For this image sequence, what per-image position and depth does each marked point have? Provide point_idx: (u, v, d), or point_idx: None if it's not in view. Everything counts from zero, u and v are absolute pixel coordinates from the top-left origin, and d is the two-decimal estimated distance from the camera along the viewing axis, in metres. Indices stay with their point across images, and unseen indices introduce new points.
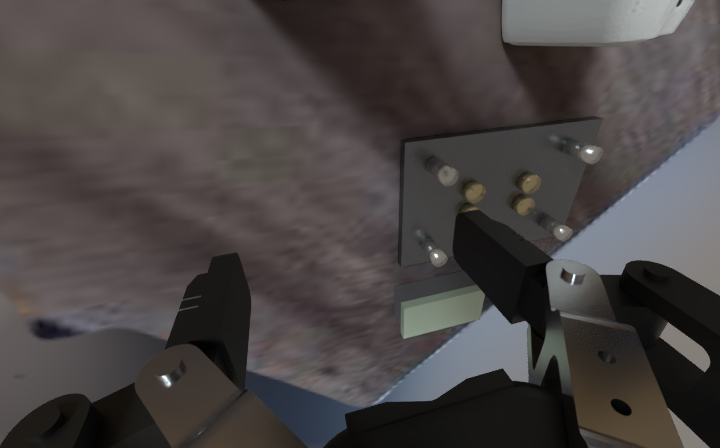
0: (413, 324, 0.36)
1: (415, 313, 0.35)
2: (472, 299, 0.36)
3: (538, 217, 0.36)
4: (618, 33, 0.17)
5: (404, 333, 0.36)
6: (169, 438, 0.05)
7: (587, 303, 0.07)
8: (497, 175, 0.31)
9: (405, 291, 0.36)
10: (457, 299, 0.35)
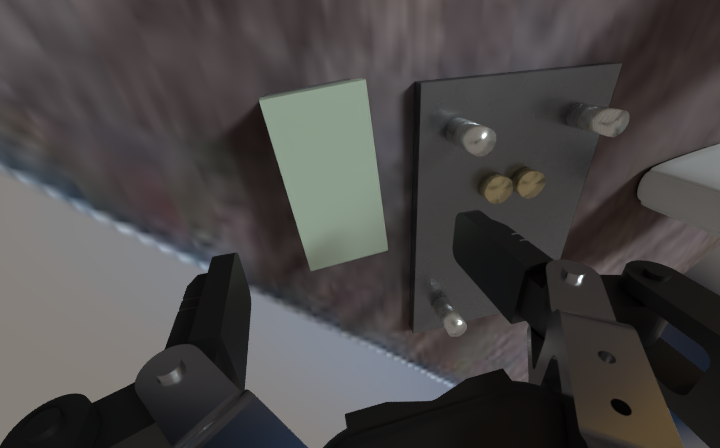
0: (310, 117, 0.15)
1: (345, 113, 0.15)
2: (367, 234, 0.19)
3: (450, 290, 0.27)
4: None
5: (278, 99, 0.14)
6: (169, 438, 0.05)
7: (588, 303, 0.07)
8: (529, 211, 0.25)
9: None
10: (372, 203, 0.18)
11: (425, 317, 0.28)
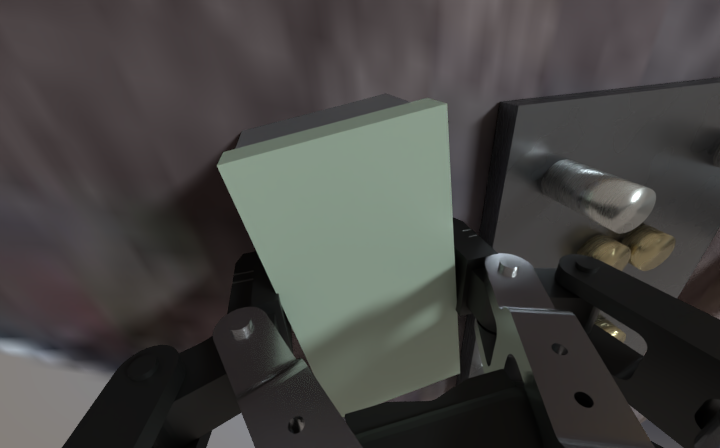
0: (330, 189, 0.07)
1: (402, 173, 0.07)
2: (429, 358, 0.11)
3: None
4: None
5: (261, 158, 0.06)
6: (233, 384, 0.06)
7: (527, 293, 0.07)
8: None
9: None
10: (441, 314, 0.10)
11: None
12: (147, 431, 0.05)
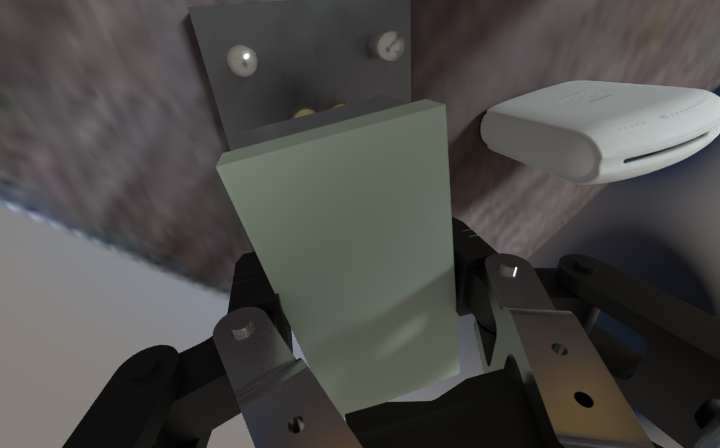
0: (329, 190, 0.07)
1: (402, 174, 0.07)
2: (428, 358, 0.11)
3: None
4: (596, 131, 0.18)
5: (260, 159, 0.06)
6: (233, 384, 0.06)
7: (527, 294, 0.07)
8: None
9: None
10: (441, 315, 0.10)
11: None
12: (147, 431, 0.05)
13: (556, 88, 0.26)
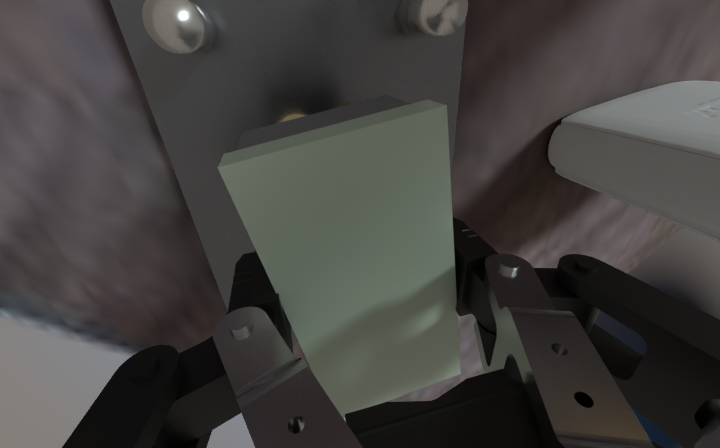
0: (331, 190, 0.07)
1: (403, 175, 0.07)
2: (429, 358, 0.11)
3: None
4: None
5: (261, 160, 0.06)
6: (233, 384, 0.06)
7: (527, 294, 0.07)
8: None
9: None
10: (441, 315, 0.10)
11: None
12: (147, 431, 0.05)
13: (668, 91, 0.18)
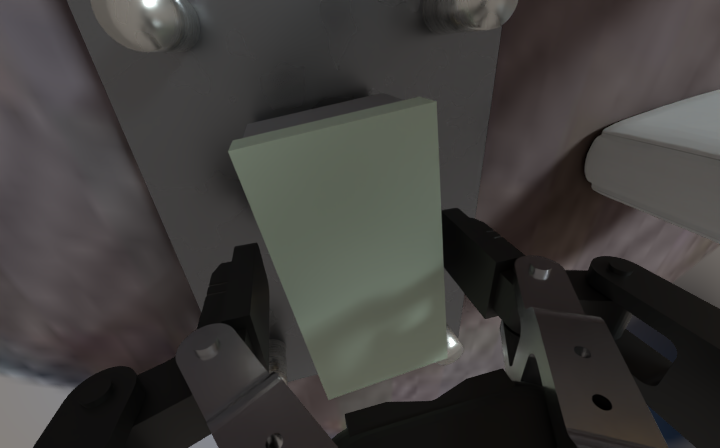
0: (330, 176, 0.08)
1: (396, 164, 0.08)
2: (418, 342, 0.12)
3: (281, 330, 0.16)
4: None
5: (268, 146, 0.07)
6: (202, 408, 0.05)
7: (556, 297, 0.07)
8: None
9: None
10: (430, 299, 0.11)
11: None
12: None
13: None
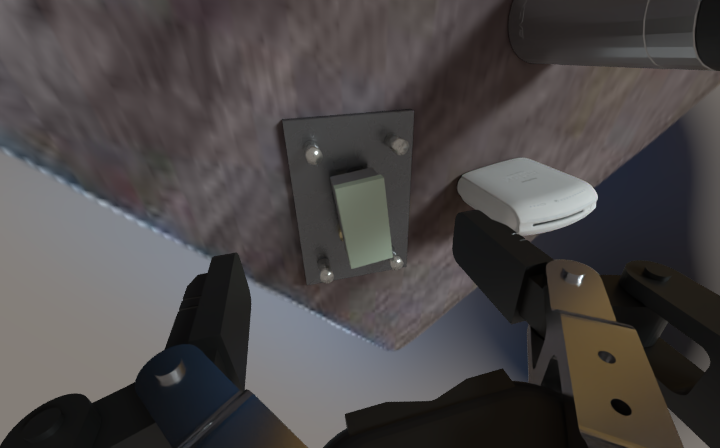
0: (357, 195, 0.31)
1: (374, 192, 0.31)
2: (382, 249, 0.35)
3: (329, 254, 0.40)
4: (518, 206, 0.31)
5: (343, 188, 0.30)
6: (169, 438, 0.05)
7: (587, 303, 0.07)
8: None
9: None
10: (385, 233, 0.34)
11: (313, 273, 0.40)
12: None
13: (508, 164, 0.39)
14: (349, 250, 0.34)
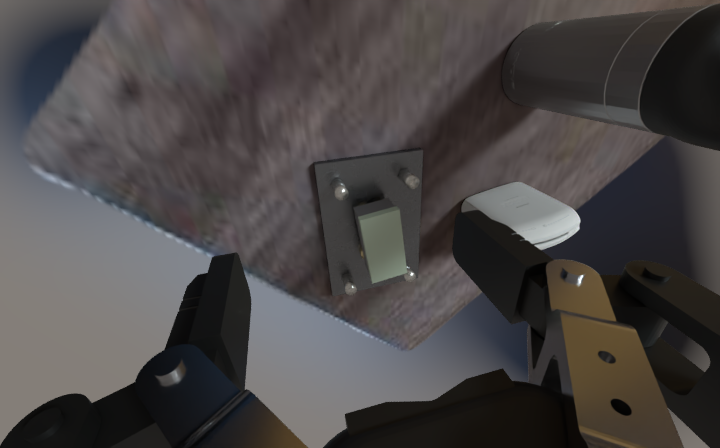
0: (377, 224, 0.38)
1: (391, 221, 0.38)
2: (398, 266, 0.41)
3: (351, 269, 0.46)
4: None
5: (366, 219, 0.37)
6: (169, 438, 0.05)
7: (587, 303, 0.07)
8: None
9: None
10: (400, 253, 0.41)
11: (338, 286, 0.47)
12: None
13: (505, 189, 0.45)
14: (370, 268, 0.41)
